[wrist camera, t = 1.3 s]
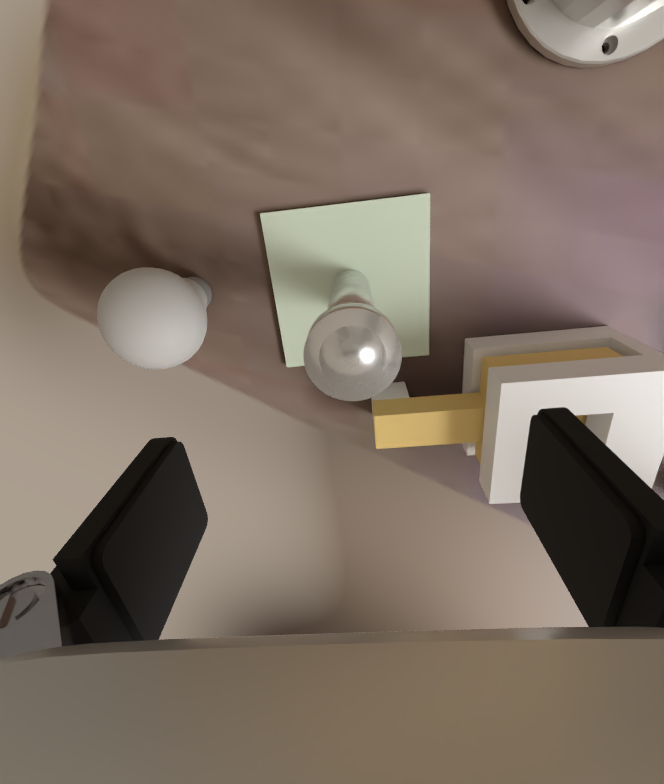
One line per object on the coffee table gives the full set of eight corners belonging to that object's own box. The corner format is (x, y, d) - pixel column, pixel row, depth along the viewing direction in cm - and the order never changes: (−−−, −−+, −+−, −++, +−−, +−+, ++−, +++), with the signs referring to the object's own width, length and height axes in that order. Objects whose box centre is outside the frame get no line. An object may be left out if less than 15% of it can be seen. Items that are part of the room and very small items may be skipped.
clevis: (367, 346, 32) (373, 393, 25) (608, 325, 31) (693, 368, 23) (374, 445, 37) (381, 509, 29) (584, 431, 35) (649, 495, 28)
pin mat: (261, 213, 28) (259, 213, 27) (428, 193, 27) (430, 193, 26) (287, 365, 33) (286, 367, 33) (428, 352, 32) (429, 355, 32)
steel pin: (319, 263, 29) (296, 314, 16) (377, 256, 28) (400, 304, 16) (325, 319, 31) (310, 404, 18) (380, 314, 30) (403, 397, 18)
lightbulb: (177, 234, 29) (88, 254, 19) (250, 277, 30) (203, 317, 20) (150, 303, 31) (60, 352, 21) (219, 340, 32) (164, 403, 23)
